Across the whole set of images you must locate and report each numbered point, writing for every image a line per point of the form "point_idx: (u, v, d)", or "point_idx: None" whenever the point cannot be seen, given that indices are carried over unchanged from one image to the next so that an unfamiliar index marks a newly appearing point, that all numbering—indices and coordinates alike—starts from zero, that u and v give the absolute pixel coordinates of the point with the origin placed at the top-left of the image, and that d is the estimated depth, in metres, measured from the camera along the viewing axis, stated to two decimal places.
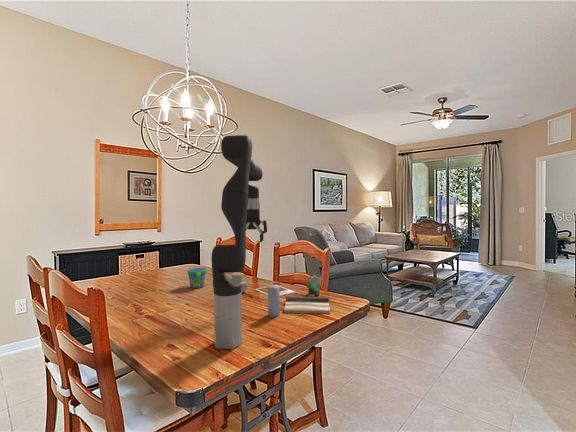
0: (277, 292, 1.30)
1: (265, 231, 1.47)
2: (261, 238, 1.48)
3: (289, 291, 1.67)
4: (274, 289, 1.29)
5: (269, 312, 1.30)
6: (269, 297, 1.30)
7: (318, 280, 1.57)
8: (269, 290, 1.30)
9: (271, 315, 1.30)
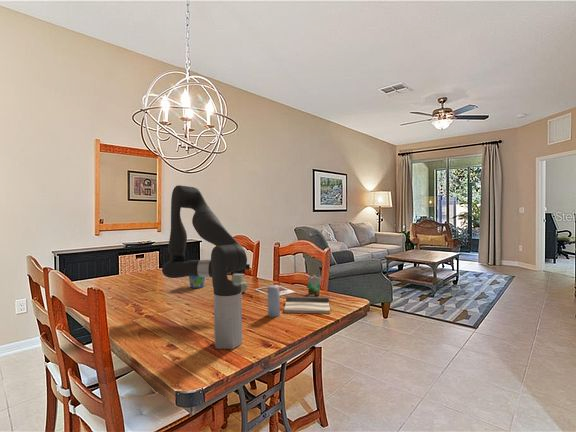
0: (277, 292, 1.30)
1: None
2: None
3: (289, 291, 1.67)
4: (274, 289, 1.29)
5: (269, 312, 1.30)
6: (269, 297, 1.30)
7: (318, 280, 1.57)
8: (269, 290, 1.30)
9: (271, 315, 1.30)
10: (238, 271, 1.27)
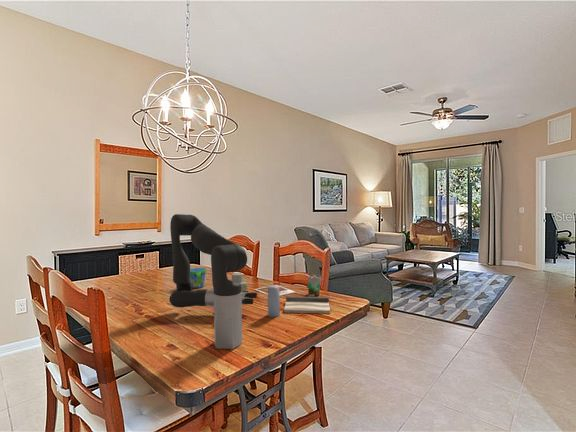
0: (277, 292, 1.30)
1: None
2: (252, 293, 1.37)
3: (289, 291, 1.67)
4: (274, 289, 1.29)
5: (269, 312, 1.30)
6: (269, 297, 1.30)
7: (318, 280, 1.57)
8: (269, 290, 1.30)
9: (271, 315, 1.30)
10: (246, 302, 1.27)
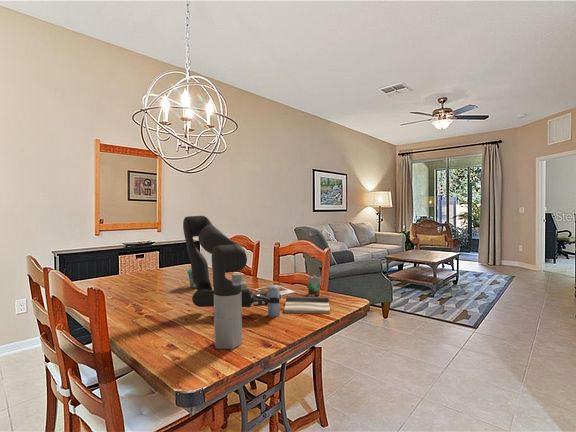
0: (277, 292, 1.30)
1: None
2: None
3: (289, 291, 1.67)
4: (274, 289, 1.29)
5: (269, 312, 1.30)
6: (269, 297, 1.30)
7: (318, 280, 1.57)
8: (269, 290, 1.30)
9: (271, 315, 1.30)
10: (272, 301, 1.28)
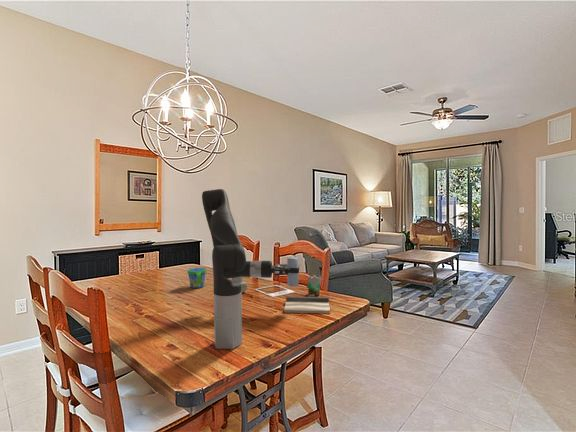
0: (296, 263, 1.37)
1: None
2: None
3: (289, 291, 1.67)
4: (294, 260, 1.37)
5: (289, 282, 1.37)
6: (289, 267, 1.37)
7: (318, 280, 1.57)
8: (289, 261, 1.37)
9: (291, 285, 1.37)
10: (292, 271, 1.35)
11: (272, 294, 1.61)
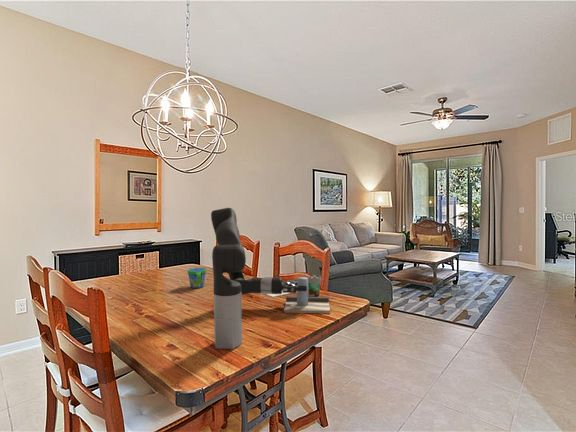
0: (306, 283, 1.40)
1: (296, 279, 1.49)
2: None
3: None
4: (304, 280, 1.39)
5: (298, 301, 1.40)
6: None
7: (318, 280, 1.57)
8: (299, 281, 1.40)
9: (300, 304, 1.40)
10: (300, 289, 1.37)
11: (272, 294, 1.61)
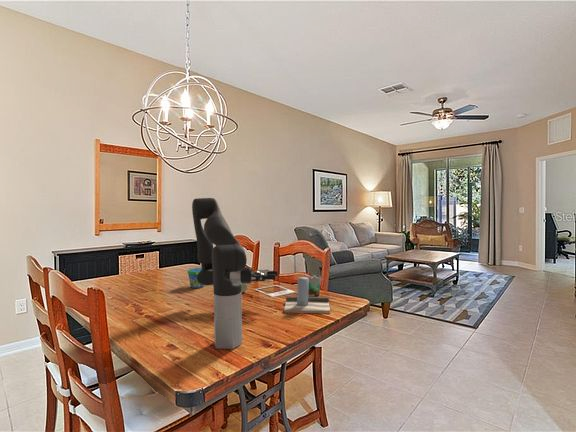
0: (307, 283, 1.40)
1: None
2: None
3: (289, 291, 1.67)
4: (304, 280, 1.39)
5: (299, 301, 1.40)
6: (299, 287, 1.40)
7: (318, 280, 1.57)
8: (299, 281, 1.40)
9: (301, 304, 1.40)
10: (269, 277, 1.37)
11: (272, 294, 1.61)
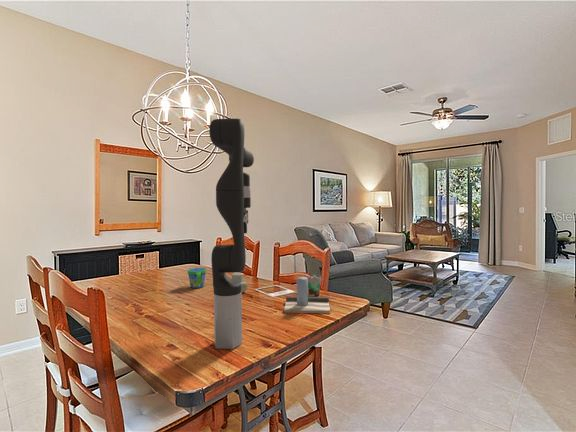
0: (306, 283, 1.40)
1: None
2: None
3: (289, 291, 1.67)
4: (304, 280, 1.39)
5: (299, 302, 1.40)
6: (299, 288, 1.39)
7: (318, 280, 1.57)
8: (299, 282, 1.39)
9: (301, 304, 1.40)
10: None
11: (272, 294, 1.61)
